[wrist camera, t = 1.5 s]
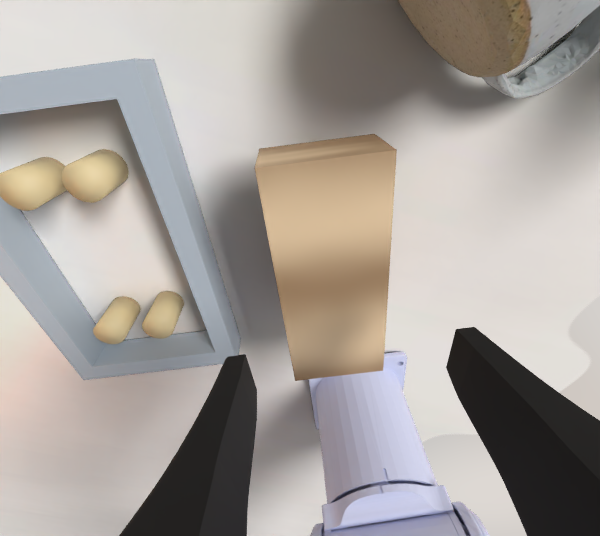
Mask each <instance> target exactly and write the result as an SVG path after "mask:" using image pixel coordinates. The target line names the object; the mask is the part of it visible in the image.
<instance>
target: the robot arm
mask: <svg viewBox="0 0 600 536" xmlns="http://www.w3.org/2000/svg"><path fill="white" fill-rule="evenodd" d="M406 363H407V356H406V354H405V353H404V352H394V353H385V354H384V365H383V371H376V372H367V373H358V374H350V375H341V376H332V377H324V378H315V379H309V385H310V392H311V399H312V405H313V412H314V418H315V425H316V428H317V429H318V430H319V431H320V440H321V450H322V459H323V468H324V478H325V487H326V496H327V504H324V505H322V513H323V523H320V524H316V525H315V526H314V527H313V530H312V533H311V535H310V536H490V535H489V533H488V531H487V530H486V528H485V526H484V525H483V523H482V522H481V520H480V519H479V517H478V516H477V515H476V514H475V513H473V512H472V511H471V510H469V509H468V508H467V507H466V506H465V505H464V504H463V503H461V502H453V503H451V501H450V498H449V496H448V493H447V491H446V488H445V486H443V485H440V486H438V484H437V482H436V479H435V476H434V473H433V471H432V468H431V465H430V463H429V460H428V457H427V455H426V452H425V449H424V447H423V444H422V441H421V439H420V436H419V433H418V431H417V428H416V425H415V423H414V420H413V417H412V415H411V412H410V409H409V407H408V404H407V401H406V399H405V396H404V393H403V387H404V379H405V371H406ZM446 368H447V371H448V373H449V376H450V378H451V381H452V384H453V386H454V388H455V391H456V393H457V395H458V398H459V400H460V401H461V403H462V405H463V407H464V409H465V411H466V413H467V414H468V416H469V418H470V420H471V422H472V424H473V425H474V427H475V429H476V431H477V433H478V434H479V436H480V438H481V440H482V442H483V443H484V445H485V447H486V449H487V451H488V452H489V454H490V456H491V458H492V460H493V462H494V463H495V465H496V467H497V469H498V471H499V473H500V475H501V477H502V479H503V481H504V483H505V485H506V488H507V490H508V492H509V495H510V497H511V499H512V501H513V503H514V505H515V508H516V510H517V512H518V515H519V517H520V519H521V522H522V524H523V526H524V529H525V531H526V534H527V536H600V421H599V420H598V419H596V418H595V417H593V416H592V415H590V414H589V413H587V412H586V411H584V410H583V409H581V408H580V407H578V406H577V405H576V404H574V403H573V402H571V401H570V400H568V399H567V398H566V397H564V396H563V395H561V394H560V393H558V392H557V391H556V390H554V389H553V388H552V387H550V386H549V385H548V384H546V383H545V382H543V381H542V380H541V379H539V378H538V377H537V376H536V375H534V374H533V373H532V372H530V371H529V370H528V369H526V368H525V367H524V366H522V365H521V364H520V363H519V362H517V361H516V360H515V359H514V358H512V357H511V356H510V355H509V354H507V353H506V352H505V351H503V350H502V349H501V348H500V347H499V346H497V345H496V344H495V343H494V342H492V341H491V340H490V339H489V338H487V337H486V336H485V335H484V334H482V333H481V332H480V331H479V330H477V329H476V328H475V327H471V328H462V329H456V332H455V335H454V339H453V343H452V347H451V351H450V355H449V359H448V363H447V367H446ZM256 421H257V389H256V386H255V383H254V380H253V377H252V373H251V370H250V367H249V364H248V361H247V358H246V355H236V356H228V357H227V358H226V359H225V361H224V364H223V366H222V368H221V370H220V373H219V375H218V377H217V379H216V381H215V383H214V386H213V388H212V390H211V392H210V394H209V396H208V398H207V400H206V402H205V403H204V405H203V407H202V409H201V411H200V413H199V415H198V417H197V419H196V421H195V422H194V424H193V426H192V428H191V429H190V431H189V433H188V434H187V436H186V438H185V440H184V441H183V443H182V445H181V446H180V448H179V450H178V452H177V453H176V455H175V456H174V458H173V460H172V461H171V463H170V464H169V466H168V467H167V469H166V471H165V472H164V474H163V475H162V477H161V478H160V480H159V481H158V483H157V484H156V486H155V487H154V489H153V490H152V491H151V493H150V494H149V496H148V497H147V498H146V500H145V501H144V503H143V504H142V505H141V507H140V508H139V510H138V511H137V512H136V514H135V515H134V517H133V518H132V519H131V521H130V522H129V523H128V525H127V526H126V527H125V529H124V530H123V531H122V533H121V534H120V535H119V536H247V507H248V494H249V485H250V476H251V467H252V458H253V449H254V440H255V431H256Z"/></svg>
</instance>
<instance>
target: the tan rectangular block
mask: <svg viewBox="0 0 600 536" xmlns="http://www.w3.org/2000/svg"><path fill="white" fill-rule="evenodd" d="M396 151H397V150H396V149H394V148H393V147H392V146H390V145H389V144H388V143H386V142H385V141H384V140H382V139H381V138H380V137H378V136H377V135H375V134H370V135H362V136H354V137H347V138H339V139H331V140H323V141H316V142H308V143H300V144H292V145H285V146H277V147H269V148H261V149H259V153H258V157H257V161H256V165H255V172H256V177H257V183H258V188H259V193H260V198H261V204H262V209H263V214H264V219H265V225H266V230H267V235H268V240H269V246H270V251H271V256H272V261H273V267H274V272H275V277H276V282H277V288H278V293H279V298H280V303H281V309H282V314H283V319H284V324H285V329H286V335H287V340H288V345H289V350H290V356H291V361H292V366H293V371H294V377H295V381H298V380H307V379H315V378H324V377H332V376H341V375H350V374H358V373H367V372H376V371H383V365H384V349H385V332H386V316H387V299H388V283H389V266H390V250H391V233H392V217H393V200H394V184H395V167H396Z"/></svg>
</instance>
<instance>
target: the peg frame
mask: <svg viewBox="0 0 600 536" xmlns="http://www.w3.org/2000/svg"><path fill="white" fill-rule="evenodd" d="M112 99H117V100H118V103H119V105H120V108H121V111H122V113H123V116H124V118H125V121H126V123H127V126H128V129H129V131H130V134H131V136H132V139H133V141H134V144H135V147H136V149H137V152H138V154H139V157H140V159H141V162H142V165H143V167H144V170H145V172H146V175H147V177H148V180H149V183H150V185H151V188H152V190H153V193H154V195H155V198H156V201H157V203H158V206H159V208H160V211H161V213H162V216H163V219H164V221H165V224H166V226H167V229H168V231H169V234H170V237H171V239H172V242H173V244H174V247H175V249H176V252H177V255H178V257H179V260H180V262H181V265H182V267H183V270H184V273H185V275H186V278H187V280H188V283H189V285H190V288H191V291H192V293H193V296H194V298H195V301H196V304H197V306H198V309H199V311H200V314H201V316H202V319H203V322H204V324H205V327H206V329H207V331H198V332H190V333H182V334H173V335H171V334H172V333H173V331H174V328H175V326H176V323H177V321H178V318H179V316H180V313H181V311H182V308H183V306H184V301H183V299H182V297H181V296H180V295H178V294H177V293H175V292H171V291H164V292H161V293H159V294H158V295H157V297H156V299H155V301H154V303H153V305H152V306H151V308H150V310H149V312H148V314H147V316H146V318H145V320H144V321H143V324H142V328H143V330H144V332H145V333H146V334H148V335H149V336H151V337H148V338H140V339H131V340H124V339H125V337H126V336H127V334H128V332H129V330H130V329H131V327H132V325H133V323H134V322H135V320H136V318H137V316H138V314H139V313H140V305H139V304H138V303H137V302H136V301H135V300H133V299H131V298H129V297H117V298H115V299H114V300H113V302H112V303H111V304H110V306H109V307H108V309H107V310H106V312H105V313H104V314H103V316H102V317H101V319H100V320H99V321H98V323H97V324H95V323H94V321H93V320H92V318H91V317H90V315H89V314H88V312H87V311H86V309H85V308H84V306H83V304H82V303H81V301H80V300H79V298H78V297H77V295H76V294H75V292H74V291H73V289H72V288H71V286H70V285H69V283H68V282H67V280H66V279H65V277H64V276H63V274H62V273H61V271H60V270H59V268H58V267H57V265H56V263H55V262H54V260H53V259H52V257H51V256H50V254H49V253H48V251H47V250H46V248H45V247H44V245H43V244H42V242H41V241H40V239H39V238H38V236H37V235H36V233H35V232H34V230H33V229H32V227H31V226H30V224H29V223H28V221H27V219H26V218H25V216H24V215H23V213H22V212H21V210H26V211H30V210H34V209H36V208H38V207H40V206H41V205H43V204H45V203H46V202H48V201H50V200H51V199H53V198H55V197H56V196H58V195H60V194H62V193H63V192H65V191H68V192H69V193H70V194H71V195H73V196H74V197H75V198H77V199H79V200H81V201H84V202H91V203H92V202H97V201H100V200H101V199H102V198H104V197H105V196H106V195H108V194H109V193H110V192H112V191H113V190H114V189H116V188H117V187H118V186H120V185H121V184H122V183H124V182H125V181H126V180H127V178H128V174H129V171H128V167H127V164H126V162H125V161H124V160H123V158H122V157H121V156H120V155H118V154H117V153H115V152H113V151H111V150H106V149H102V150H98V151H96V152H94V153H92V154H89V155H87V156H85V157H83V158H81V159H79V160H77V161H75V162H72V163H70V164H68V165H67V166H64V165H63V164H62V163H61V162H59V161H57V160H55V159H53V158H49V157H41V158H38V159H36V160H33V161H31V162H28V163H25V164H23V165H20V166H18V167H15V168H13V169H10V170H7V171H5V172H2V173H0V276H1V277H2V279H3V280H4V281H5V282H6V284H7V285H8V286H9V287H10V289H11V290H12V291H13V292H14V294H15V295H16V296H17V297H18V299H19V300H20V301H21V302H22V304H23V305H24V306H25V307H26V309H27V310H28V311H29V312H30V314H31V315H32V316H33V317H34V319H35V320H36V321H37V322H38V324H39V325H40V326H41V327H42V329H43V330H44V331H45V332H46V334H47V335H48V336H49V337H50V339H51V340H52V341H53V342H54V344H55V345H56V346H57V347H58V349H59V350H60V351H61V352H62V354H63V355H64V356H65V357H66V359H67V360H68V361H69V362H70V364H71V365H72V366H73V368H74V369H75V370H76V371H77V373H78V374H79V375H80V376H81V378H82V379H83V380H89V379H98V378H106V377H115V376H123V375H132V374H140V373H149V372H157V371H166V370H174V369H183V368H191V367H200V366H208V365H217V364H224V361H225V359H226V358H227V357H228V356H236V355H238V353H239V347H240V340H241V338H240V335H239V331H238V328H237V325H236V322H235V318H234V315H233V312H232V309H231V306H230V302H229V299H228V296H227V293H226V289H225V286H224V283H223V280H222V277H221V273H220V270H219V267H218V264H217V260H216V257H215V254H214V251H213V248H212V244H211V241H210V238H209V235H208V231H207V228H206V225H205V222H204V219H203V215H202V212H201V209H200V206H199V202H198V199H197V196H196V193H195V190H194V186H193V183H192V180H191V177H190V173H189V170H188V167H187V164H186V161H185V157H184V154H183V151H182V148H181V144H180V141H179V138H178V135H177V131H176V128H175V125H174V122H173V119H172V115H171V112H170V109H169V106H168V102H167V99H166V96H165V93H164V90H163V86H162V83H161V80H160V77H159V73H158V70H157V67H156V64H155V61H154V59H129V60H121V61H114V62H106V63H99V64H92V65H84V66H77V67H69V68H62V69H55V70H47V71H40V72H32V73H25V74H18V75H10V76H3V77H0V114H7V113H15V112H22V111H30V110H37V109H45V108H52V107H60V106H67V105H75V104H82V103H90V102H97V101H105V100H112Z"/></svg>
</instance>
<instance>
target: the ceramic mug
mask: <svg viewBox="0 0 600 536" xmlns="http://www.w3.org/2000/svg"><path fill="white" fill-rule="evenodd" d="M398 1H399V3H400V5H401V6H402V8H403V9H404V11H405V12H406V14H407V16H408V17H409V19H410V21H411V22H412V24H413V25H414V26H415V28H416V29H417V30H418V32H419V33H420V34H421V35H422V37H423V38H424V39H425V41H426V42H427V43H428V44H429V45H430V46H431V47H432V48H433V49H434V50H435V51H436V52H437V53H438V54H439V55H440V56H441V57H442V58H443V59H445V60H446V61H447V62H448V63H449V64H451V65H452V66H454V67H456V68H457V69H459V70H460V71H462V72H464V73H466V74H468V75H472V76H476V77H482V78H483V79H484V80H485V81H486V83H487V84H489V85H490V86H492V87H493V88H495V89H497V90H498V91H500V92H501V93H503V94H505V95H507V96H509V97H513V98H527V97H531V96H535V95H538V94H540V93H542V92H544V91H546V90H548V89H550V88H552V87H553V86H555V85H557V84H558V83H560V82H561V81H563V80H564V79H566V78H567V77H568V76H570V75H571V74H572V73H574V72H575V71H576V70H578V69H579V68H580V67H581V66H582V65H584V64H585V63H586V62H587V61H588V60H589V59H590V58H591V57H592V56H593V55H594V54H595V53H596V52H597V51H598V50H599V49H600V0H398ZM581 21H582V22H581ZM580 22H581V23H580ZM579 23H580V24H579ZM577 24H579V26H578V27H577V28H576V29H574V31H573V32H572V33H571V35H570V36H569V37H568V38H567V39H566V40H565V41H564V42H563V43H561V44H560V45H559V46H558V47H556V48H555V49H554V50H553V51H551V52H550V53H548V54H547V55H546V56H544V57H543V58H541V59H540V60H539V61H537V62H536V63H535V64H534V65H532V66H529V67H527V68H526V69H525V70H524V71H522V72H521V73H520V74H519V75H517V76H515V77H511V78H507V77H506V75H505V73H507V72H509V71H511V70H513V69H514V68H516V67H518V66H519V65H521V64H523V63H525V62H526V61H528V60H529V59H531V58H533V57H534V56H536V55H537V54H539V53H540V52H542V51H544V50H545V49H547V48H548V47H549V46H551V45H552V44H553V43H555V42H556V41H557V40H559V39H560V38H561V37H563V36H564V35H565V34H566V33H568V32H569V31H570V30H572V29H573V28H574V27H575V26H576V25H577Z"/></svg>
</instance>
